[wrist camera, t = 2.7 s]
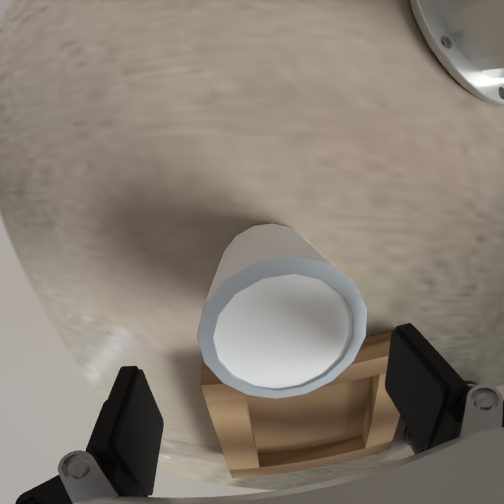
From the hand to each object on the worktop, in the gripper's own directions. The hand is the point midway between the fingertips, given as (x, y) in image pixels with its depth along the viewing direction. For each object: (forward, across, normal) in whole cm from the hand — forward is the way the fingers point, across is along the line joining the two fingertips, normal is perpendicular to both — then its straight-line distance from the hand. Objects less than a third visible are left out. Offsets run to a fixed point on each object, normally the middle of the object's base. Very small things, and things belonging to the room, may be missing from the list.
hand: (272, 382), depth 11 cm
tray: (+9, -3, +11) cm, 14 cm away
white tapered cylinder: (+9, -1, -1) cm, 9 cm away
